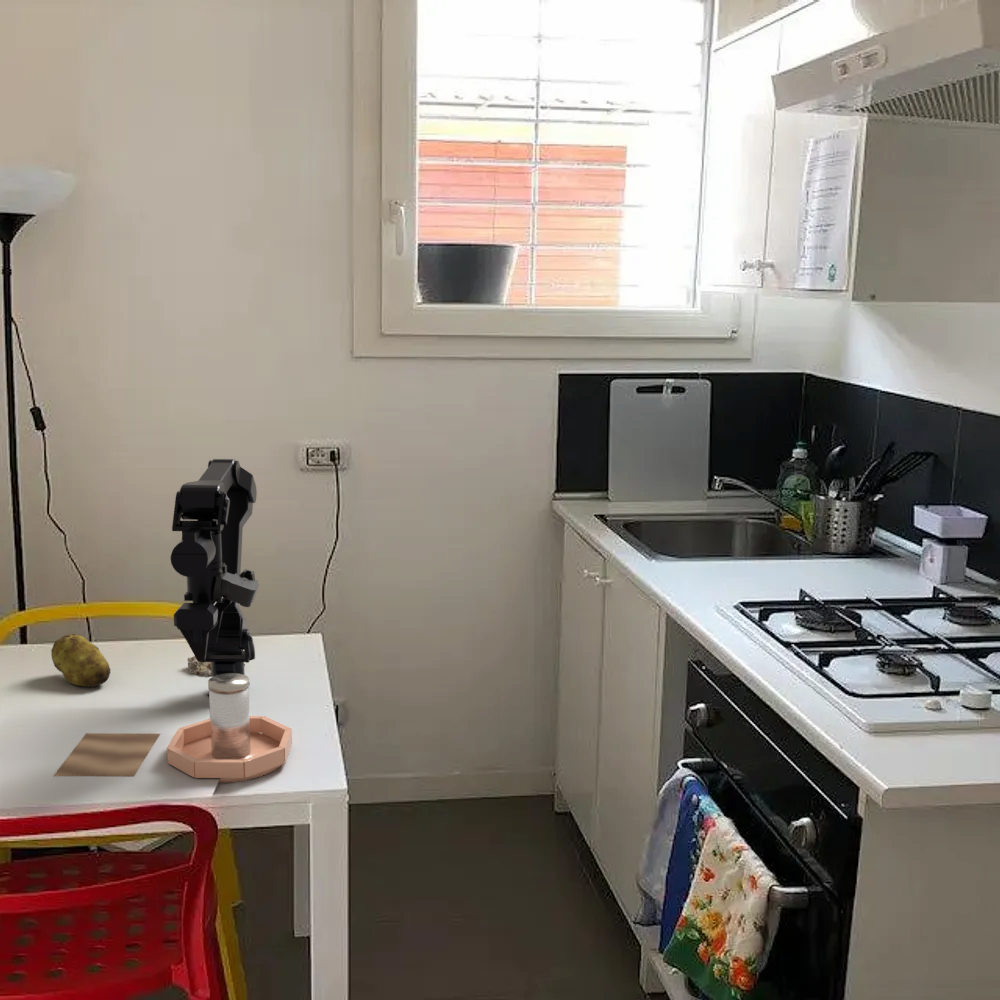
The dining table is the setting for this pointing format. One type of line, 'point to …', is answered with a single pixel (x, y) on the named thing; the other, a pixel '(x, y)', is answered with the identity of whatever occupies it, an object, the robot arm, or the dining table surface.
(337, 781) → the dining table surface
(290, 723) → the dining table surface
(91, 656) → the potato
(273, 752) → the terracotta bowl
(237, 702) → the polished metal canister
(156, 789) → the dining table surface
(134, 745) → the walnut board
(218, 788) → the dining table surface
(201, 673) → the mineral rock
